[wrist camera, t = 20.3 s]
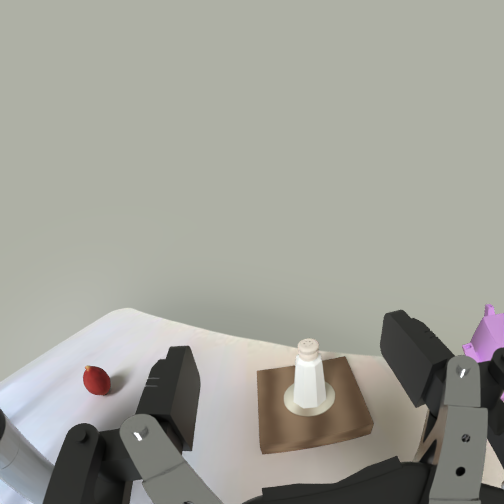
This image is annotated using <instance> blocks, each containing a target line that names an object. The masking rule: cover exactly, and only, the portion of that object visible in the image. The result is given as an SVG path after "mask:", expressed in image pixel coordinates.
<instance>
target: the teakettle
mask: <svg viewBox="0 0 504 504" xmlns="http://www.w3.org/2000/svg"><path fill="white" fill-rule="evenodd" d="M502 347H504V313H503V314H495V312H494V307H493V306H492V305H491V304H487V305H485V315H484V317H483V318H482V320H481V322H480V324H479V326H478V327H477V329H476V331H475V333H474V335H473V337H472V339H471V342H470V343H468V344H465V345H463V346H462V348H463V351H464V353H465V356H469V357H471V358H473V359H474V360H475V361H476V362H477V363H479V362H484V361H489V360H491V358H492V356H493V353H494V351H495V350H496V349H498V348H502ZM501 400H502V401H504V393H503V395H502V396H501Z"/></svg>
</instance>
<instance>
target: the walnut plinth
mask: <svg viewBox="0 0 504 504" xmlns="http://www.w3.org/2000/svg"><path fill="white" fill-rule="evenodd" d="M322 365H323V373H324V382H325V390H326V400H325V401H324V402H323V403H321V404H320V405H319V406H318V407H315V408H302V407H300V406H299V405H297V404H296V403H294V397H293V392H294V378H295V366H290V367H283V368H276V369H268V370H260V371H257V388H258V413H259V439H260V448H261V451H262V454H271V453H280V452H288V451H295V450H301V449H307V448H313V447H318V446H323V445H328V444H333V443H337V442H341V441H346V440H350V439H353V438H357V437H361V436H364V435H368V434H370V433H371V430H372V427H373V424H374V423H373V421H372V418H371V416H370V413H369V411H368V408H367V406H366V404H365V401H364V399H363V396H362V394H361V392H360V389H359V387H358V385H357V382H356V380H355V378H354V375H353V373H352V371H351V368H350V366H349V364H348V362H347V359H346V357H345V356H344V357H339V358H334V359H329V360H324V361H322Z"/></svg>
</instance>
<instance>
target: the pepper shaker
mask: <svg viewBox="0 0 504 504" xmlns="http://www.w3.org/2000/svg"><path fill="white" fill-rule="evenodd" d="M318 347H319V343H318V342H317V341H316V340H315V339H311V338H307V339H303V340H301V341H300V342H299V343H298V352H299V354H298V355H297V356H296V363H295V378H294V392H293V397H294V403H296V404H297V405H299V406H300V407H302V408H315V407H318V406H319V405H320V404H321V403H323V402H324V401H325V400H326V390H325V382H324V373H323V365H322V358H321V354H320V353H318Z"/></svg>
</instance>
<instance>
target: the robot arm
mask: <svg viewBox="0 0 504 504" xmlns="http://www.w3.org/2000/svg"><path fill="white" fill-rule="evenodd" d="M380 348H381V353H382V355H383V357H384V359H385V360H386V362H387V363H388V365H389V366H390V368H391V369H392V371H393V372H394V374H395V375H396V377H397V379H398V380H399V382H400V383H401V385H402V386H403V388H404V390H405V391H406V393H407V394H408V396H409V398H410V399H411V401H412V403H413V404H414V406H415V407H416V408H417V407H419V406H421V405H424V404H426V405H427V407H428V408H429V409H428V411H427V415H426V420H425V424H424V428H423V433H422V437H421V441H420V444H419V448H418V451H417V453H416V455H415V457H414V459H413V461H412V462H400V461H399V459H398V456H395V457H393V458H390V459H388V460H385V461H382V462H379V463H376V464H373V465H371V466H367V467H366V468H364V469H362V470H360V471H358V472H357V473H355V474H353V475H351V476H349V477H347V478H345V479H343V480H341V481H339V482H337V483H332V484H291V485H285V486H277V487H268V488H262V494H263V495H261V496H258V497H255V498H252V499H250V500H248V501H246V502H244V503H242V504H504V481H503V482H502V485H501V488H502V489H501V488H498V487H494V486H490V485H487V484H483V483H481V481H482V475H483V468H484V461H485V453H486V442H487V439H488V441H489V443H490V444H491V446H492V448H493V450H494V451H495V453H496V455H497V457H498V459H499V461H500V463H501V465H502V467H503V469H504V403H503V401H502V400H501V396H502V395H503V393H504V347H502V348H498V349H496V350H495V351H494V353H493V356H492V358H491V360H489V361H484V362H479V363H477V362H476V361H475V360H474V359H473V358H471V357H469V356H465V355H458V356H455V355H454V354H452V352H451V351H450V350H449V349H448V348H447V347H446V346H445V345H444V344H443V343H442V342H441V340H440V339H438V337H436V336H435V334H434V333H433V332H432V331H430V329H429V328H428V327H427V326H426V325H425V324H424V323H423V322H421V321H419V320H417V319H415V318H412V319H411V318H410V317H409V316H408V315H407V314H406V312H405V311H403V310H398V311H394V312H390V313H386V314H385V316H384V320H383V327H382V334H381V341H380ZM199 393H200V376H199V372H198V369H197V366H196V363H195V360H194V357H193V354H192V351H191V349H190V347H189V346H175V347H170V348H169V351H168V354H167V357H166V359H159V361H158V362H157V363H156V364H155V365H154V366H153V367H152V368H151V371H150V374H149V377H148V379H147V382H146V387H145V388H144V390H143V393H142V396H141V399H140V402H139V405H138V408H137V411H136V414H135V415H133V416H131V417H129V418H128V419H126V420H125V421H124V422H123V424H122V425H121V427H120V428H119V429H115V430H109V431H102V432H98V430H97V429H96V428H95V427H94V426H93V425H91V424H87V423H81V424H78V425H75V426H74V427H72V428H71V429H70V430H69V431H68V433H67V435H66V437H65V440H64V442H63V445H62V447H61V450H60V453H59V455H58V458H57V461H56V463H55V466H54V465H53V464H52V463H51V462H50V461H49V460H47V459H46V458H45V457H44V456H43V455H42V454H41V453H40V452H39V451H38V450H37V449H36V448H35V447H34V446H33V445H32V444H31V443H30V442H29V441H28V440H27V439H26V438H25V437H24V436H23V435H22V434H21V432H20V431H19V430H18V429H17V428H16V427H15V426H14V425H13V424H12V422H11V421H10V420H9V419H8V418H7V416H6V415H5V414H4V413H3V411H2V410H1V409H0V479H1V480H2V481H4V482H5V483H6V484H7V485H9V486H10V487H11V488H12V489H14V490H15V491H16V492H18V493H19V494H20V495H22V496H23V497H25V498H26V499H27V500H29V501H30V502H32V503H33V504H129V503H130V496H131V490H132V484H133V480H141V479H143V482H142V485H143V487H144V489H145V491H146V492H147V494H148V496H149V497H150V499H151V500H152V502H153V503H154V504H224V503H223V502H222V501H221V500H220V499H219V498H218V497H217V496H216V495H215V494H214V493H213V492H212V491H211V490H210V489H209V487H208V486H207V485H206V484H205V483H204V482H203V481H202V479H201V478H200V477H199V476H198V475H197V474H196V472H195V471H194V470H193V469H192V467H191V466H190V465H189V464H188V463H187V461H185V459H184V458H183V457H182V451H192V446H193V438H194V430H195V422H196V415H197V407H198V400H199Z"/></svg>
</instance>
